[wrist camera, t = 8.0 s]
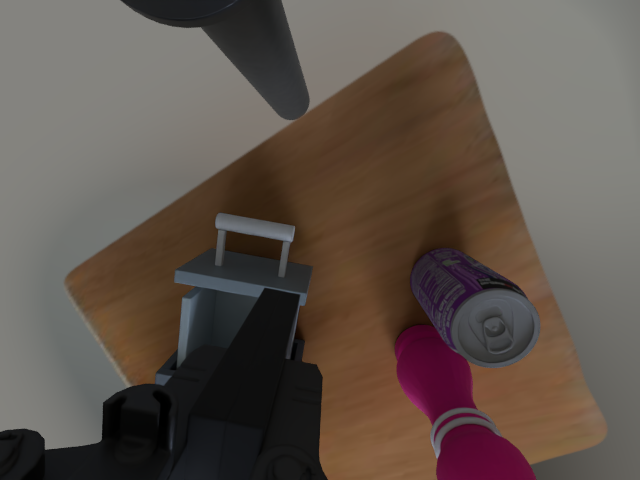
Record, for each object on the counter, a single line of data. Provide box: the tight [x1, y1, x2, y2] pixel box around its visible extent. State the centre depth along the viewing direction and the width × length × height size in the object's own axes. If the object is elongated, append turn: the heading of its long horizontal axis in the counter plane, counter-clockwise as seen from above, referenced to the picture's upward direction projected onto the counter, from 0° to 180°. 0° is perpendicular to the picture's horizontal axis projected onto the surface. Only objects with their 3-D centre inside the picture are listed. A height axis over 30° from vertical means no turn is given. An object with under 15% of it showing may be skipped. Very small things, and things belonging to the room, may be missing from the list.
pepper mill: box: [395, 325, 536, 480], centre depth 25 cm, size 7×7×20 cm
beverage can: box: [410, 248, 540, 368], centre depth 27 cm, size 7×7×12 cm
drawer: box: [174, 213, 313, 368], centre depth 30 cm, size 18×11×8 cm, turn 170°
